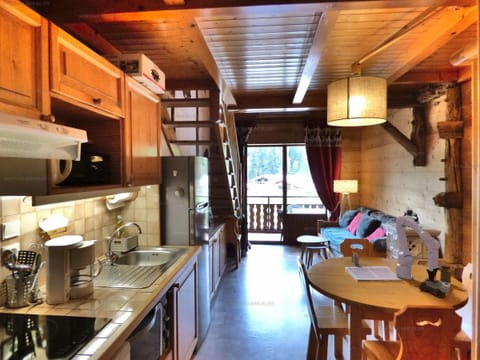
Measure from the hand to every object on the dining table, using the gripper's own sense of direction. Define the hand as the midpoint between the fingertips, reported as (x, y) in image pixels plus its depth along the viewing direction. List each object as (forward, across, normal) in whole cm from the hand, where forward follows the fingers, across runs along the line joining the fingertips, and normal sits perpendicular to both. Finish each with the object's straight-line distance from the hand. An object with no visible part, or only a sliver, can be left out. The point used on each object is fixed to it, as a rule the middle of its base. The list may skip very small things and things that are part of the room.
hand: (432, 279), depth 202 cm
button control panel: (+5, +1, -2) cm, 6 cm away
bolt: (+6, -13, -2) cm, 14 cm away
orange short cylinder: (+3, 0, 0) cm, 3 cm away
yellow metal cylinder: (+6, +14, -5) cm, 16 cm away
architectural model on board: (+6, +19, +58) cm, 61 cm away
